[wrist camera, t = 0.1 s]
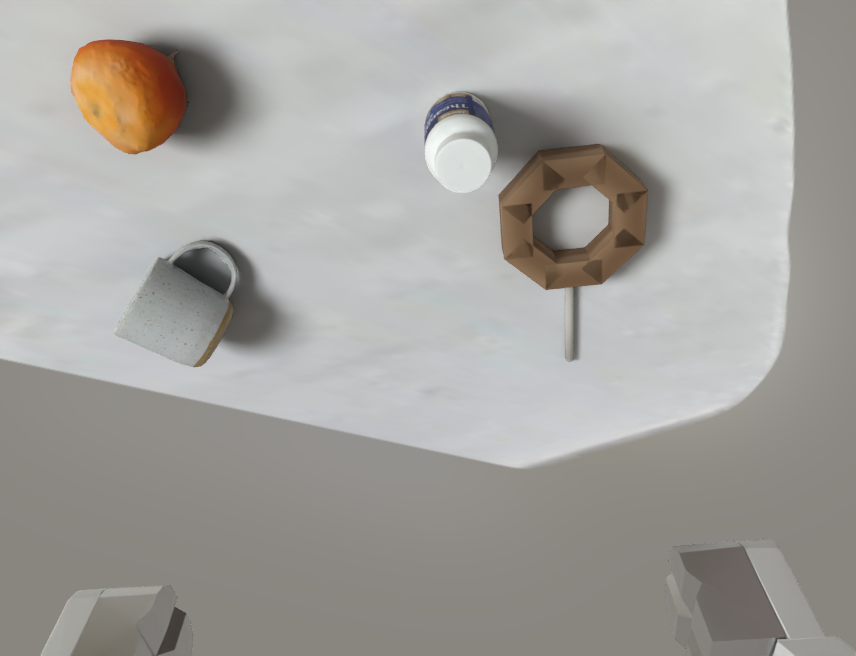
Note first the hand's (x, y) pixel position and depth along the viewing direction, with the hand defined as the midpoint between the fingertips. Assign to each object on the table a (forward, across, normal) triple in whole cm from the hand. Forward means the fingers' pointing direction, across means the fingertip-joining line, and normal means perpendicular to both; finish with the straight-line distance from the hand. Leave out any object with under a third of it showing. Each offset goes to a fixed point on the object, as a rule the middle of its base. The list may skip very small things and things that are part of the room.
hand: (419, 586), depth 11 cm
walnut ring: (+48, -11, +16) cm, 52 cm away
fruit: (+48, +22, +1) cm, 53 cm away
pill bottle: (+48, -2, +7) cm, 49 cm away
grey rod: (+48, -11, +27) cm, 56 cm away
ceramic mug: (+48, +24, +19) cm, 57 cm away
